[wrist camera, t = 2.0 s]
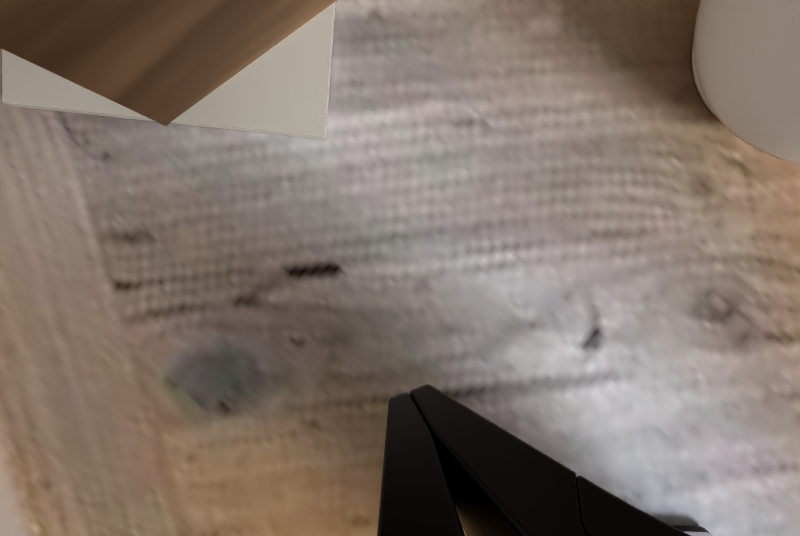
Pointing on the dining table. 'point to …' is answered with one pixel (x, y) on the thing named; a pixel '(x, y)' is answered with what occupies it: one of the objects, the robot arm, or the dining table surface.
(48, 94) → the felt mat
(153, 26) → the walnut slab
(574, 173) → the dining table surface
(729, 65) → the lidded bowl
